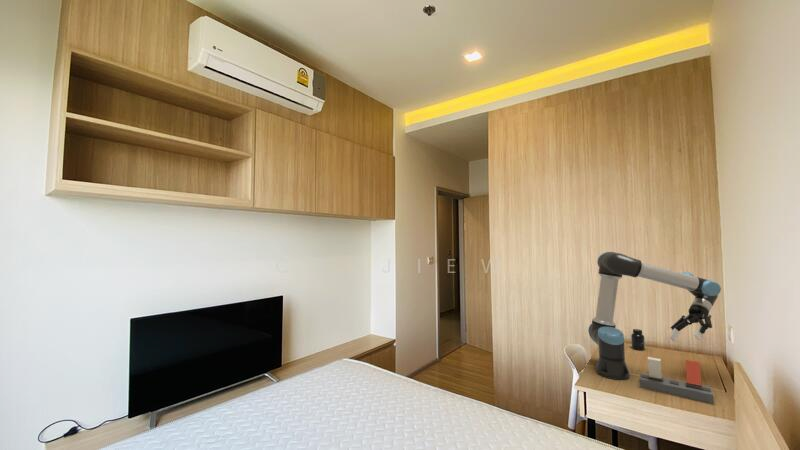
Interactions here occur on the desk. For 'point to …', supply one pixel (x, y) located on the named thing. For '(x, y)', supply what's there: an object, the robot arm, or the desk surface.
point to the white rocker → (654, 367)
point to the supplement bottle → (637, 340)
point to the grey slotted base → (677, 388)
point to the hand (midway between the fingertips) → (684, 338)
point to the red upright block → (693, 373)
